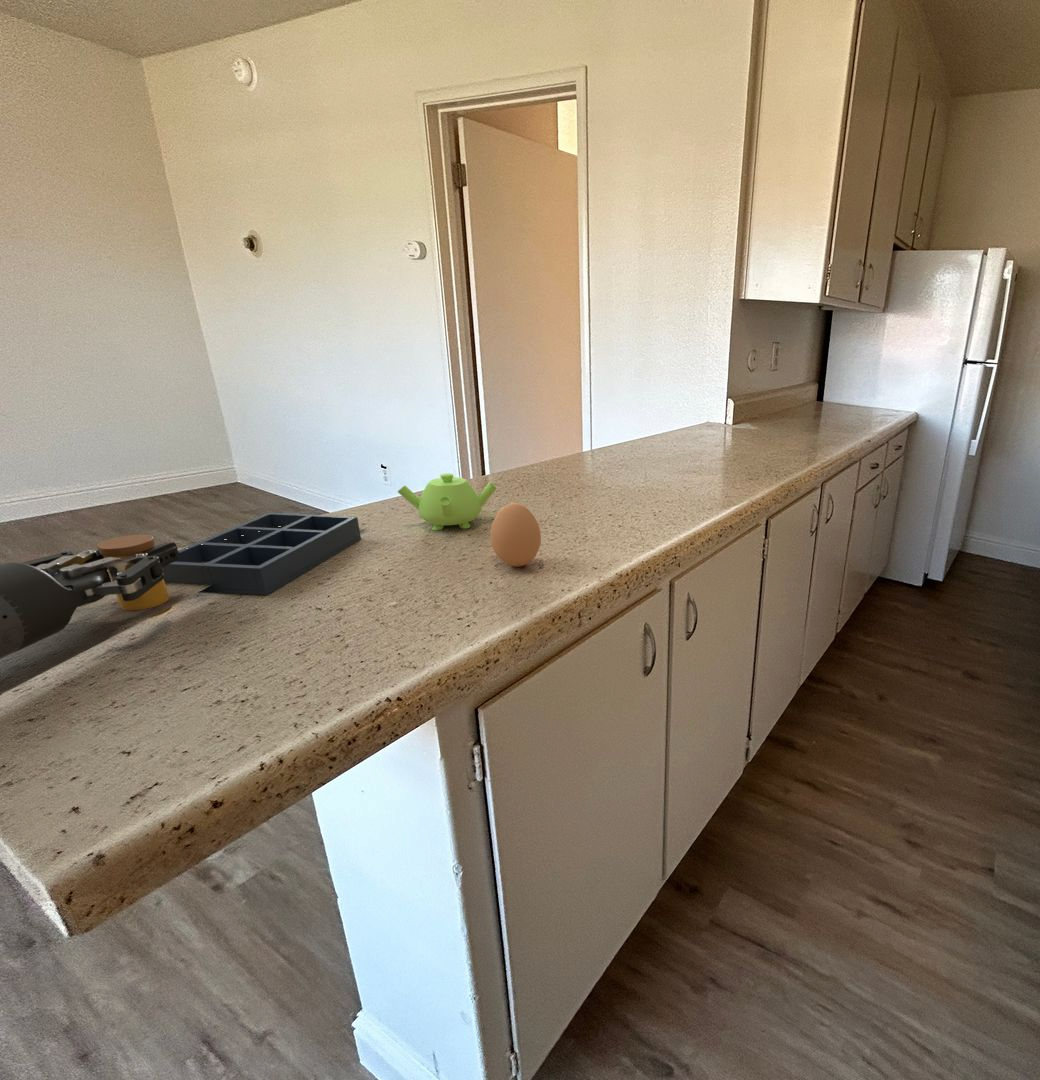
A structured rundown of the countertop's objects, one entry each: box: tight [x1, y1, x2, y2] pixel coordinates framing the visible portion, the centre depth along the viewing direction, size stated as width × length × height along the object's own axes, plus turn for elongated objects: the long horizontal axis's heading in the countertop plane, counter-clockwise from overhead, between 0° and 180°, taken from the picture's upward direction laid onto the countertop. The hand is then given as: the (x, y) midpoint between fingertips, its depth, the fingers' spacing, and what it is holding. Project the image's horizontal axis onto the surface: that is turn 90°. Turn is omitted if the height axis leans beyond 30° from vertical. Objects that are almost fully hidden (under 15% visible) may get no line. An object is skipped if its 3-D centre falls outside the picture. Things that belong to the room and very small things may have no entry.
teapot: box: [397, 472, 498, 531], centre depth 97 cm, size 11×12×8 cm
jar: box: [96, 534, 173, 619], centre depth 66 cm, size 4×4×8 cm
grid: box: [162, 512, 362, 596], centre depth 80 cm, size 13×20×4 cm
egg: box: [490, 502, 542, 568], centre depth 82 cm, size 7×7×9 cm
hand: (153, 549), depth 67 cm, fingers closed on jar, 4 cm apart
